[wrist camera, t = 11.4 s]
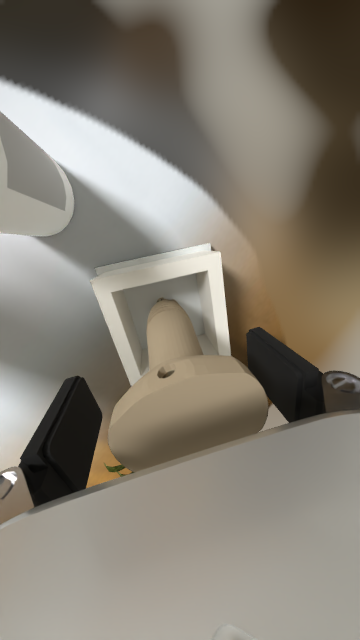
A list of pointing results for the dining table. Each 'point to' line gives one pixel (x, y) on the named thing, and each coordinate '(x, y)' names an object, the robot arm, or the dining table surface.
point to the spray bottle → (31, 186)
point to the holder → (170, 283)
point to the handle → (183, 397)
